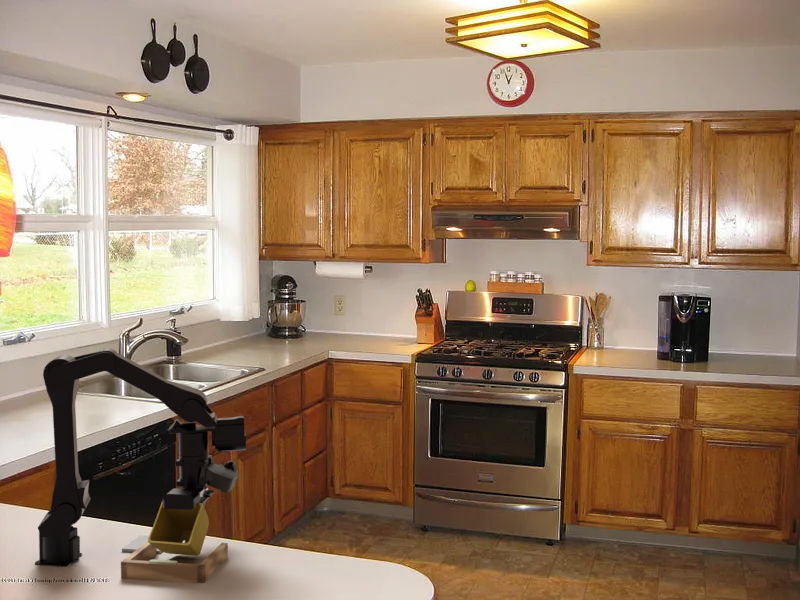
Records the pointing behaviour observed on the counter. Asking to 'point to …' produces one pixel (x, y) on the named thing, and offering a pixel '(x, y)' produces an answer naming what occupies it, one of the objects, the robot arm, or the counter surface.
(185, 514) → the flower pot
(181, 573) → the wooden tray frame
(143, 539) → the tile
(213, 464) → the robot arm
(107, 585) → the counter surface
